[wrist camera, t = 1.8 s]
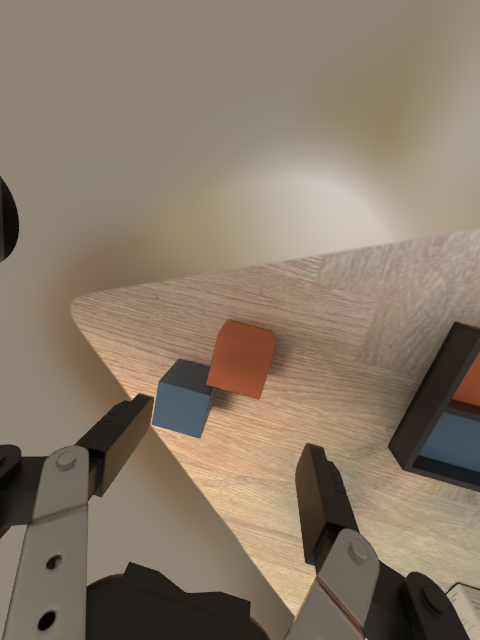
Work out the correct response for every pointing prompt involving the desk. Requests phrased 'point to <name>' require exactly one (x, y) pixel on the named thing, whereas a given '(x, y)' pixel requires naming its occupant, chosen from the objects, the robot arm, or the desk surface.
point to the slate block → (184, 399)
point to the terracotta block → (241, 359)
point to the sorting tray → (445, 415)
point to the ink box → (467, 608)
